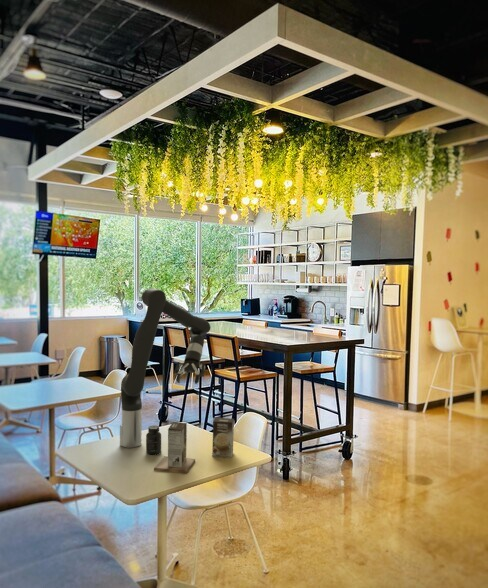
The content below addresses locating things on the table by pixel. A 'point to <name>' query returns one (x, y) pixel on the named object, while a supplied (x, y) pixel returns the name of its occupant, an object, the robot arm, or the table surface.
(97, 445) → the table surface
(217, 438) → the coffee box
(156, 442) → the supplement bottle
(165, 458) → the brown tray
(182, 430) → the coffee box
